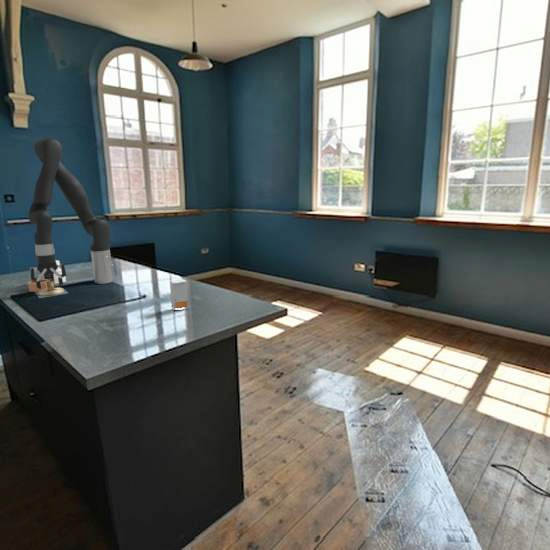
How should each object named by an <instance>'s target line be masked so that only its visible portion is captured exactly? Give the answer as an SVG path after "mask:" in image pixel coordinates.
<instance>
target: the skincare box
mask: <svg viewBox="0 0 550 550" xmlns="http://www.w3.org/2000/svg"><path fill="white" fill-rule="evenodd" d="M169 283H170V298H171V308H172V307H173V308H174V309H175V308H182V307H187V306H188V307H189V295H188V281H187V280H186V279H183V278H182V279H176V280H170V281H169Z"/></svg>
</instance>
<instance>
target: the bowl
mask: <svg viewBox="0 0 550 550" xmlns="http://www.w3.org/2000/svg"><path fill="white" fill-rule="evenodd" d="M39 281H40V284H41V289H39V288H37V284H36V281H32V280H29V281H27V287H28V291H29V293H31V292H32V293H33V292H34V293H36V292H39V291H41V290H44V289H48V288H47V281H50V280H49V279H45V278H41V279H40V280H39Z"/></svg>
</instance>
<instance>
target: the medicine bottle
mask: <svg viewBox="0 0 550 550" xmlns="http://www.w3.org/2000/svg"><path fill="white" fill-rule="evenodd" d="M56 264H57V265H60V264H61V263H60V260H57V259H56ZM56 272H58V273H59V274H60V275H61V274H62V271H61V269H60V268H59V267H58V268H57V270H56ZM43 277H44V278H43V279H49V280H50V281H53V282H54V285H56V284H59V281H58V278H59V277H58V276H57V275H56V274H53V275H46V276H45V275H43ZM62 281H63V283H66V282H67V275H66V276H64V277H63V278H62Z"/></svg>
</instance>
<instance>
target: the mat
mask: <svg viewBox="0 0 550 550" xmlns="http://www.w3.org/2000/svg"><path fill="white" fill-rule="evenodd" d="M35 294H36V296H37V297H38V299H42V298H47V297H48V298H49V297H55V296H60V295H61V296H62V295H65V294H69V292H68V291H67V290H66V289H64V292H63V293H61V294H57V295H52V296H40V295H39V292H35Z"/></svg>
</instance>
